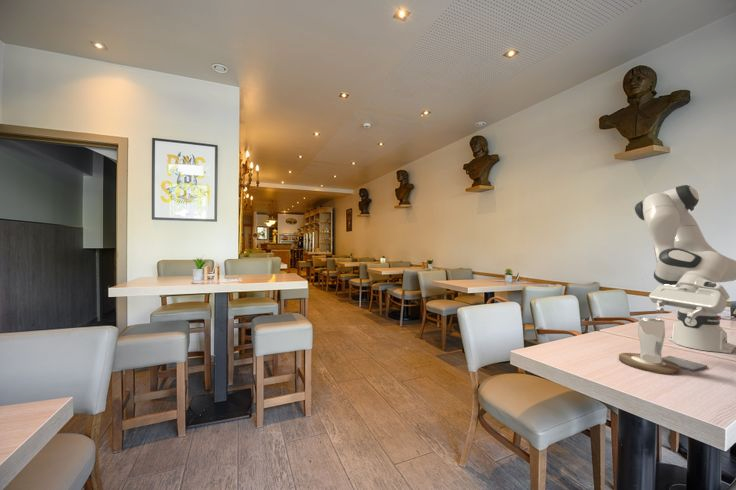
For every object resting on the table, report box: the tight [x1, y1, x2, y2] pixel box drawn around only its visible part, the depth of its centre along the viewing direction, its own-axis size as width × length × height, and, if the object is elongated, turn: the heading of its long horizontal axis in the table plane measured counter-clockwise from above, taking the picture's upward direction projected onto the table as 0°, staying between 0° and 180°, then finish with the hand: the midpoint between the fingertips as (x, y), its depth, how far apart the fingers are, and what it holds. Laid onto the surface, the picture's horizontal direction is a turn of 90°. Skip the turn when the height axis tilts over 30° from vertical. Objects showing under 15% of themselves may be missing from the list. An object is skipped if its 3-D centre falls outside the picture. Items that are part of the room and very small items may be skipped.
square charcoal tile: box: [661, 355, 708, 373], centre depth 106 cm, size 10×10×1 cm
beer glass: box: [637, 316, 666, 365], centre depth 104 cm, size 7×7×15 cm
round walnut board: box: [618, 352, 682, 376], centre depth 105 cm, size 16×16×2 cm
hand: (673, 314), depth 107 cm, fingers open, 8 cm apart
